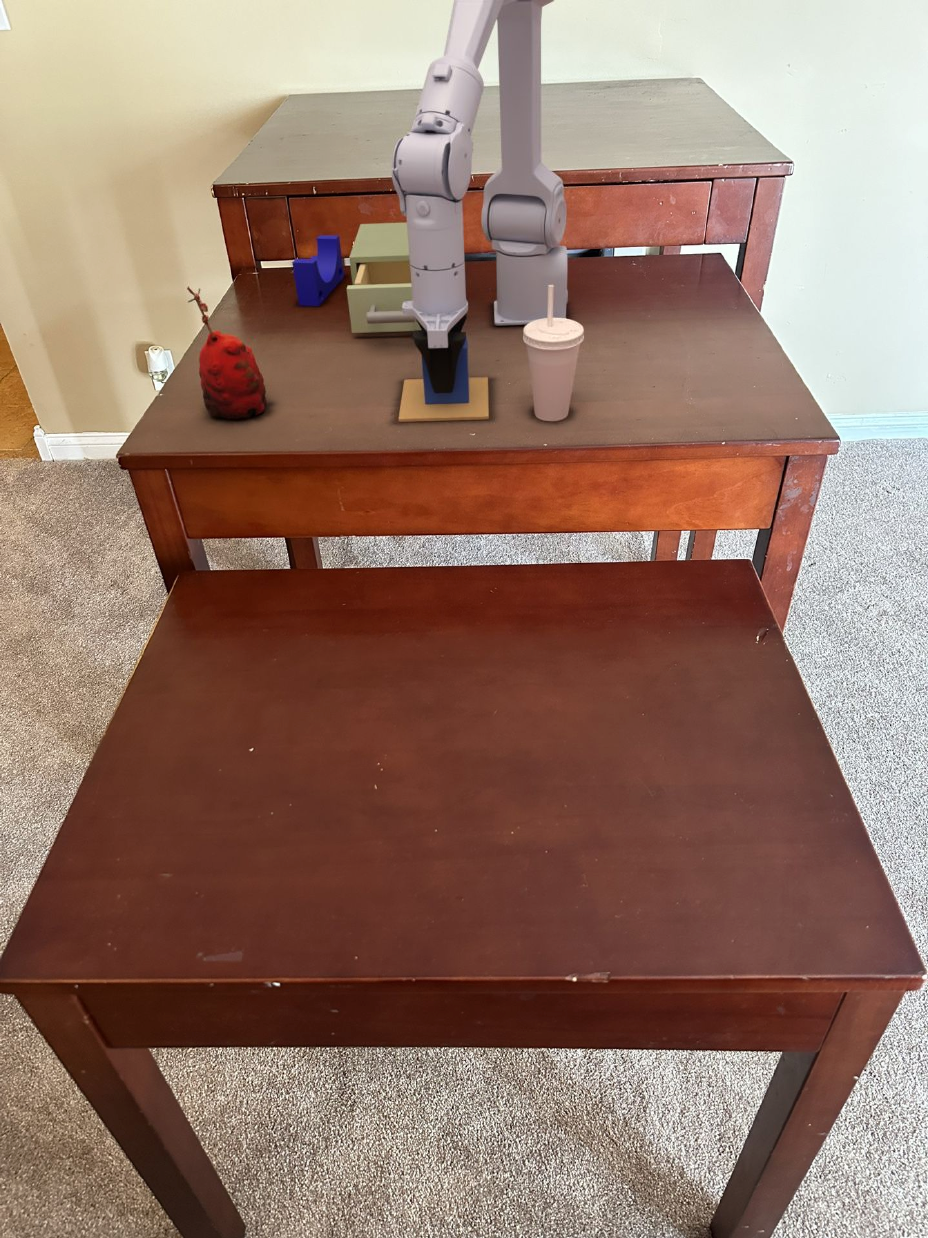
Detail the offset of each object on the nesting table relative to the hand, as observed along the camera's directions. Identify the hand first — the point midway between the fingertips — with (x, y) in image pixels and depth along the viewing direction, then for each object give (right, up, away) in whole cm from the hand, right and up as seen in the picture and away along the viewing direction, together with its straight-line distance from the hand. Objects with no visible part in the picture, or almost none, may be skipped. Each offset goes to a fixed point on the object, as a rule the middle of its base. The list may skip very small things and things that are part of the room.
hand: (444, 383), depth 102 cm
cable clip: (-19, +22, +31) cm, 42 cm away
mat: (0, -2, +1) cm, 2 cm away
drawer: (-7, +14, +19) cm, 24 cm away
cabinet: (-6, +21, +28) cm, 36 cm away
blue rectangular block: (0, -1, +1) cm, 2 cm away
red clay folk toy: (-24, -3, +2) cm, 24 cm away
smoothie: (+12, -4, -2) cm, 13 cm away
